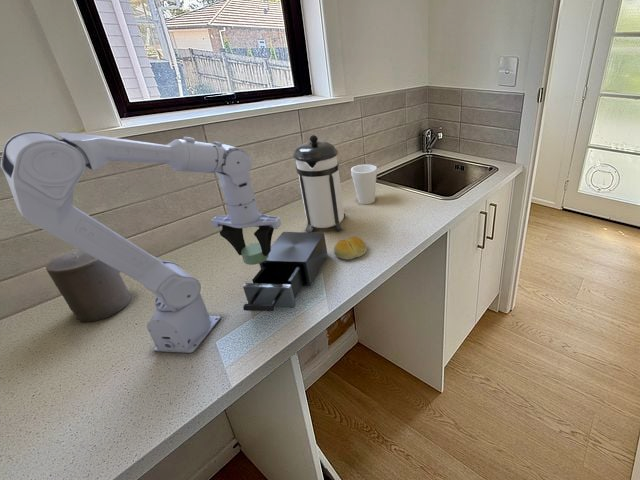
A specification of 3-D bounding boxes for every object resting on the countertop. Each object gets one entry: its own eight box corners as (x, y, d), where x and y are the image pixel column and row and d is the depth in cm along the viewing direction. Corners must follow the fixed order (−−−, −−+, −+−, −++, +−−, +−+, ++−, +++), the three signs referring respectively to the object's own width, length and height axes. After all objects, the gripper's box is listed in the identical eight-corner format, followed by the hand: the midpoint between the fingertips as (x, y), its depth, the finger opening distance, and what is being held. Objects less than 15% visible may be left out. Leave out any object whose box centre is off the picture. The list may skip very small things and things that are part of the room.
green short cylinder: (262, 265, 76) (259, 255, 75) (238, 264, 76) (236, 255, 75) (272, 251, 81) (270, 242, 80) (251, 251, 81) (248, 242, 80)
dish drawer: (284, 323, 71) (279, 303, 68) (237, 322, 71) (230, 301, 69) (313, 273, 86) (310, 255, 84) (274, 272, 87) (269, 253, 84)
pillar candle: (72, 329, 71) (35, 272, 64) (80, 303, 78) (47, 249, 71) (131, 309, 76) (102, 255, 69) (133, 287, 83) (107, 235, 76)
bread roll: (332, 248, 98) (330, 237, 96) (362, 242, 102) (361, 230, 100) (337, 264, 92) (336, 251, 90) (369, 256, 95) (368, 244, 93)
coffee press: (360, 222, 112) (352, 134, 99) (318, 241, 102) (302, 145, 89) (332, 207, 123) (321, 125, 110) (291, 222, 113) (273, 134, 99)
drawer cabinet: (310, 287, 83) (305, 261, 80) (265, 285, 84) (258, 260, 80) (327, 255, 95) (324, 232, 92) (288, 254, 96) (283, 231, 92)
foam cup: (383, 199, 129) (381, 167, 124) (368, 208, 122) (365, 174, 117) (365, 193, 134) (362, 162, 128) (349, 202, 127) (345, 169, 121)
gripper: (281, 193, 75) (292, 244, 81) (219, 192, 76) (234, 243, 82) (267, 207, 69) (279, 261, 75) (198, 206, 69) (217, 259, 75)
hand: (255, 253), depth 78 cm, fingers closed on green short cylinder, 5 cm apart
